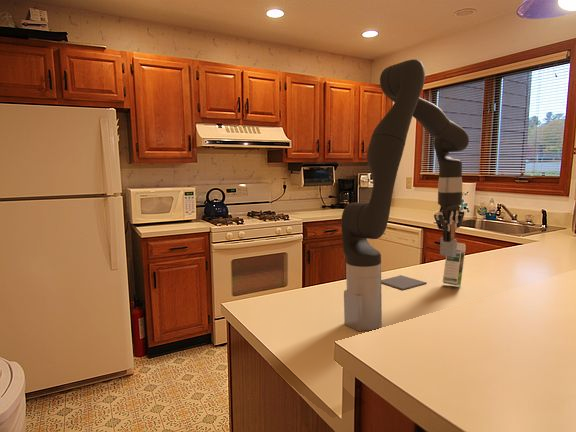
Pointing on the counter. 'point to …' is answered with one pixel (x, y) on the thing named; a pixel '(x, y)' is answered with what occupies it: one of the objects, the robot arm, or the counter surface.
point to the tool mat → (402, 282)
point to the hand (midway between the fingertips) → (449, 241)
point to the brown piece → (449, 243)
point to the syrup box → (454, 266)
